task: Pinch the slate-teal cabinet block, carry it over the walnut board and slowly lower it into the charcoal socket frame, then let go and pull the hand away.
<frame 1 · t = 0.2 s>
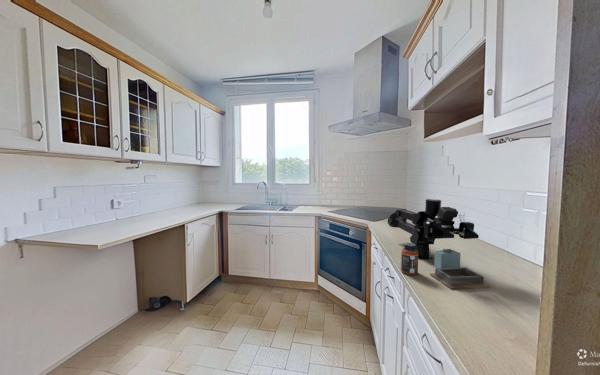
hand: (466, 236, 82), 16 cm above the countertop, tool horizontal, fingers open, 9 cm apart
cabinet block: (446, 268, 95), on the countertop
supplement bottle: (409, 273, 91), on the countertop
socket board: (458, 280, 84), on the countertop
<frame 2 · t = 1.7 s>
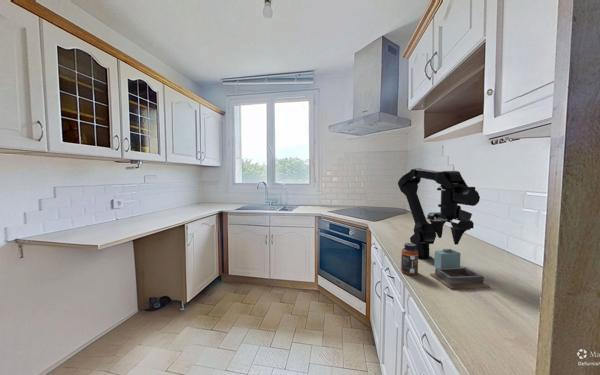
hand: (447, 240, 94), 11 cm above the countertop, tool pointing down, fingers open, 9 cm apart
nothing on the countertop moved.
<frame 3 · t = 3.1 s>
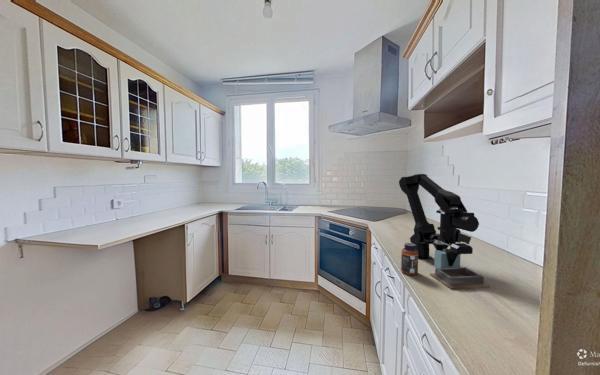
hand: (447, 263, 95), 2 cm above the countertop, tool pointing down, fingers closed on cabinet block, 4 cm apart
cabinet block: (446, 268, 95), on the countertop, touching gripper
everything else where it was.
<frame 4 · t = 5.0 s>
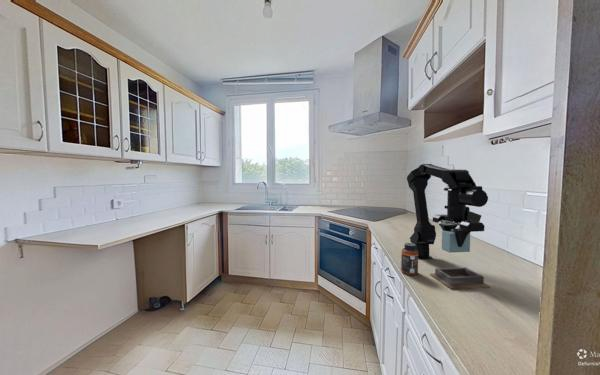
hand: (455, 245, 87), 12 cm above the countertop, tool pointing down, fingers closed on cabinet block, 4 cm apart
cabinet block: (455, 250, 87), point 10 cm above the countertop, touching gripper
everything else where it was.
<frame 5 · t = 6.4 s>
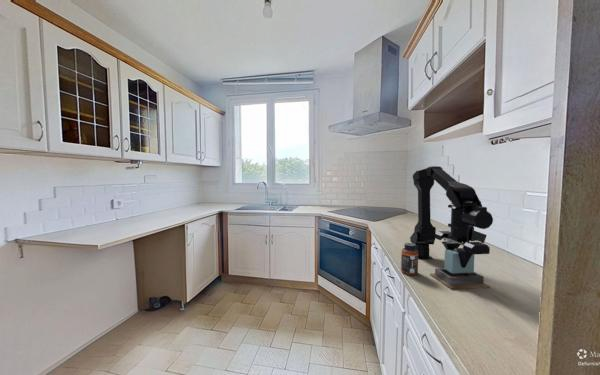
hand: (458, 265, 84), 6 cm above the countertop, tool pointing down, fingers closed on cabinet block, 4 cm apart
cabinet block: (458, 270, 84), point 4 cm above the countertop, touching gripper
everything else where it was.
when the fingers open (4 cm above the countertop, at t = 7.2 s): cabinet block drops 1 cm, resting on socket board.
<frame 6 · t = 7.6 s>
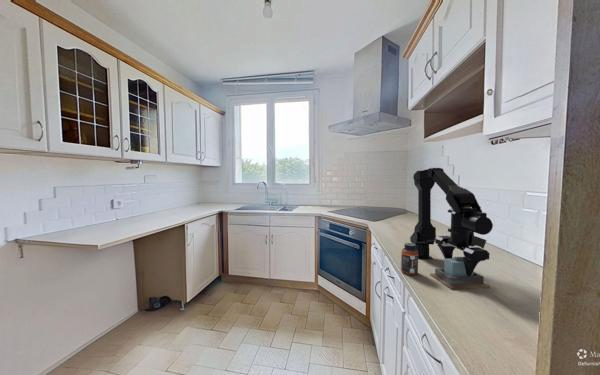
hand: (458, 270, 84), 4 cm above the countertop, tool pointing down, fingers open, 9 cm apart
cabinet block: (458, 279, 84), point 1 cm above the countertop, touching socket board
everything else where it was.
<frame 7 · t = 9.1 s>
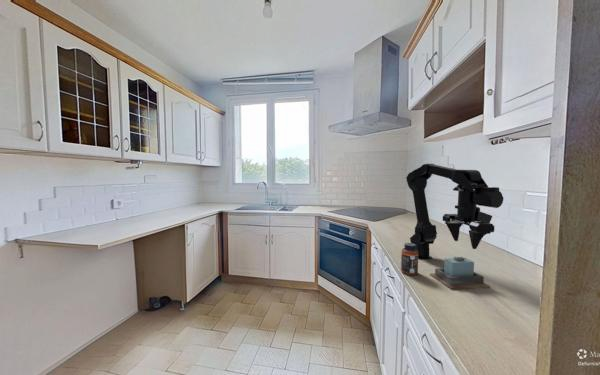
hand: (464, 244, 88), 12 cm above the countertop, tool pointing down, fingers open, 9 cm apart
nothing on the countertop moved.
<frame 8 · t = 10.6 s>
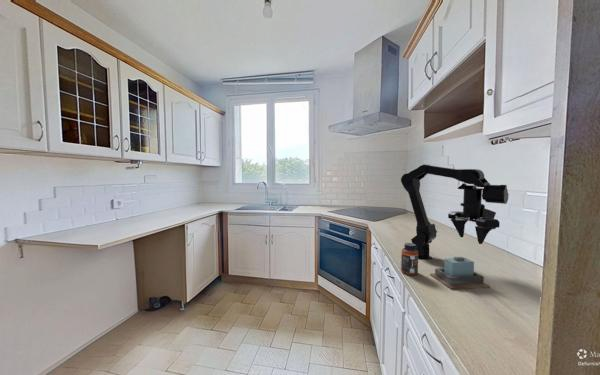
hand: (470, 240, 93), 12 cm above the countertop, tool pointing down, fingers open, 9 cm apart
nothing on the countertop moved.
at the end: cabinet block 0.1 cm off-centre on the socket board, point 0.6 cm above the socket board's base; cabinet block tilted 0°; the gripper is holding nothing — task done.
